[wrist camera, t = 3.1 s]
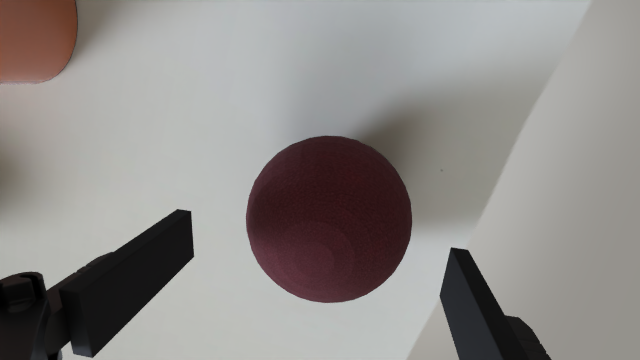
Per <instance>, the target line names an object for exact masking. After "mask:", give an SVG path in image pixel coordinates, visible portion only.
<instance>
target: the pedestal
mask: <svg viewBox="0 0 640 360" xmlns="http://www.w3.org/2000/svg"><path fill="white" fill-rule="evenodd" d="M76 36H77V12H76V5H75V0H0V85H13V84H37V83H42V82H45V81H47V80H50V79H51V78H53V77H54V76H56V75H57V74H58V73H59V72H60V71H61V70H63V68H64V67H65V65H66V64H67V63H68V61H69V59H70V57H71V55H72V52H73V49H74V46H75V41H76Z"/></svg>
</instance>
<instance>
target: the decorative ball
mask: <svg viewBox="0 0 640 360" xmlns="http://www.w3.org/2000/svg"><path fill="white" fill-rule="evenodd" d="M246 226H247V233H248V237H249V241H250V245H251V249H252V251H253V254H254V256H255V258H256V260H257V262H258V263H259V265H260V266H261V268H262V269H263V270H264V272H265V273H266V274H267V275H268V276H269V277H270V278H271V279H272V280H273V281H274V282H275V283H276V284H278V285H279V286H280V287H282V288H283V289H285V290H286V291H287V292H289V293H291V294H293V295H295V296H297V297H300V298H303V299H306V300H310V301H315V302H322V303H335V302H345V301H349V300H354V299H357V298H359V297H361V296H364V295H366V294H368V293H370V292H371V291H373V290H374V289H376V288H377V287H379V286H380V285H381V284H383V283H384V282H385V281H386V280H387V279H388V278H389V277H390V276H391V275H392V274H393V273H394V271H395V270H396V268H397V267H398V265H399V264H400V262H401V261H402V259H403V256H404V254H405V252H406V249H407V246H408V244H409V241H410V236H411V228H412V212H411V202H410V199H409V196H408V193H407V190H406V186H405V185H404V183H403V181H402V180H401V178H400V176H399V174H398V173H397V171H396V170H395V168H394V167H393V166H392V165H391V164H390V163H389V162H388V160H387V159H386V158H385V157H384V156H382V155H381V154H380V153H378V152H377V151H376V150H374V149H373V148H372V147H370V146H368V145H365V144H363V143H361V142H359V141H357V140H353V139H349V138H345V137H341V136H320V137H313V138H308V139H306V140H303V141H300V142H297V143H295V144H292V145H290V146H289V147H287V148H285V149H284V150H282V151H281V152H279V153H278V154H276V155H275V156H274V157H273V158H272V159H271V160H270V161H269V162H268V163H267V164H266V166H265V167H264V168H263V170H262V171H261V173H260V174H259V176H258V177H257V179H256V180H255V182H254V185H253V187H252V190H251V193H250V195H249V200H248V206H247V213H246Z"/></svg>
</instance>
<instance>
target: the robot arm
mask: <svg viewBox="0 0 640 360" xmlns="http://www.w3.org/2000/svg"><path fill="white" fill-rule="evenodd" d="M193 257H194V249H193V234H192V219H191V211H187V210H179V209H177V210H176V211H174V212H173V213H171V214H170V215H168V216H167V217H165V218H164V219H162V220H161V221H159V222H158V223H156V224H155V225H153V226H152V227H150V228H149V229H147V230H146V231H144V232H143V233H141V234H140V235H138V236H137V237H135V238H134V239H132V240H131V241H129V242H128V243H126V244H125V245H123V246H122V247H120V248H119V249H117V250H116V251H114V252H110V253H107V254H105V255H102V256H100V257H97V258H96V259H94V260H93V261H91V262H90V263H88V264H87V265H86V266H84V267H82V268H80V269H79V270H77V272H76V273H75V272H74V273H73V274H71V275H70V276H68V277H67V278H65V279H64V280H62V281H60V282H59V283H57V284H56V285H54V286H53V287H51V288H50V289H48V290H47V291H46V288H45V284H44V280H43V276H42V274H40V273H38V272H23V273H18V274H15V275H11V276H8V277H6V278H4V279H1V280H0V360H62V351H61V348H63V347H64V346H65V345H66V344H67V343H68V342H69V341H71V345H72V350H73V354H77V355H81V356H86V357H91V358H93V357H94V356H95V355H96V354H97V353H98V352H99V351H100V350H101V349H102V348H103V347H104V346H105V345H106V344H107V343H108V342H109V341H110V340H111V339H112V338H113V337H114V336H115V335H116V334H117V333H118V332H119V331H120V330H121V329H122V328H123V327H124V326H125V325H126V324H127V323H128V322H129V321H130V320H131V319H132V318H133V317H134V316H135V315H136V314H137V313H138V312H139V311H140V310H141V309H142V308H143V307H144V306H145V305H146V304H147V303H148V302H149V301H150V300H151V299H152V298H153V297H154V296H155V295H156V294H157V293H158V292H159V291H160V290H161V289H162V288H163V287H164V286H165V285H166V284H167V283H168V282H169V281H170V280H171V279H172V278H173V277H174V276H175V275H176V274H177V273H178V272H179V271H180V270H181V269H182V268H183V267H184V266H185V265H186V264H187V263H188V262H189V261H190V260H191V259H192V258H193ZM440 299H441V302H442V305H443V308H444V311H445V315H446V318H447V321H448V325H449V327H450V331H451V334H452V337H453V341H454V344H455V347H456V350H457V353H458V357H459V360H551V358H550V357H549V355H548V354H546V351H545V349H544V348H543V346H542V344H540V341H539V340H538V338H537V337H536V335H535V333H534V332H533V330H532V329H531V328H530V327H529V326H528V325H527V324H526V323H524V322H523V321H522V320H521V319H520V318H518V317H512V316H506V315H504V313H503V312H502V310H501V308H500V306H499V304H498V302H497V301H496V299H495V297H494V295H493V294H492V292H491V290H490V288H489V286H488V285H487V283H486V281H485V279H484V278H483V276H482V274H481V272H480V271H479V269H478V267H477V265H476V263H475V261H474V260H473V258H472V256H471V255H470V253H469V251H468V250H465V249H458V248H451V250H450V254H449V258H448V262H447V267H446V271H445V275H444V279H443V283H442V288H441V292H440Z"/></svg>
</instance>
